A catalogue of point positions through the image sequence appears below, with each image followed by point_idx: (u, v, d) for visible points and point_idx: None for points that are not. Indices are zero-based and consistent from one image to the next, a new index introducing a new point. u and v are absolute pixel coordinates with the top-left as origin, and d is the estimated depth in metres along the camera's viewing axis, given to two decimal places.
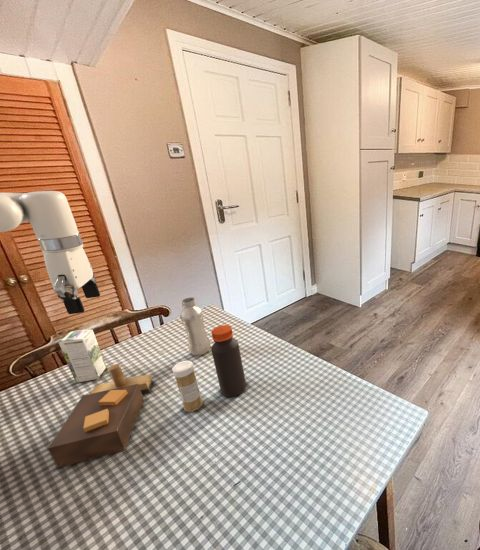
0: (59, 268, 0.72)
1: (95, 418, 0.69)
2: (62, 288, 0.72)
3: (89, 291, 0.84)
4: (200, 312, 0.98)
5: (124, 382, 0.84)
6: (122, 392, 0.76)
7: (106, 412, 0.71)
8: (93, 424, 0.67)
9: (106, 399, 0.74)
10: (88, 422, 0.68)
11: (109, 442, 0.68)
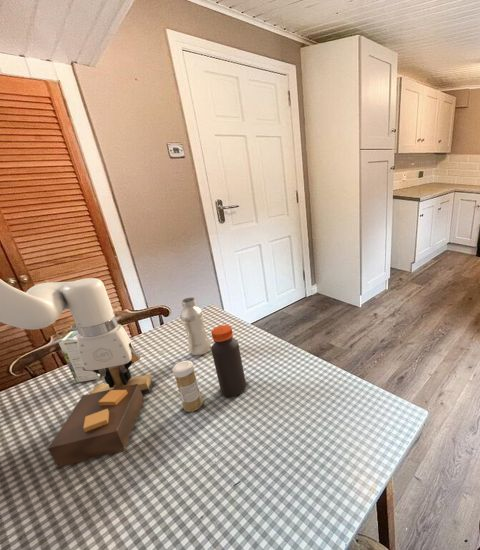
0: (127, 338, 0.81)
1: (95, 418, 0.69)
2: None
3: None
4: (200, 312, 0.98)
5: None
6: (122, 392, 0.76)
7: (106, 412, 0.71)
8: (93, 424, 0.67)
9: (106, 399, 0.74)
10: (88, 422, 0.68)
11: (109, 442, 0.68)
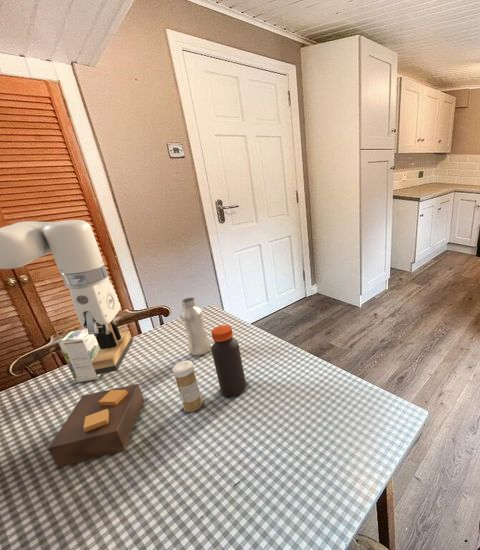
0: None
1: (95, 418, 0.69)
2: None
3: None
4: (200, 312, 0.98)
5: None
6: (122, 392, 0.76)
7: (106, 412, 0.71)
8: (93, 424, 0.67)
9: (106, 399, 0.74)
10: (88, 422, 0.68)
11: (109, 442, 0.68)
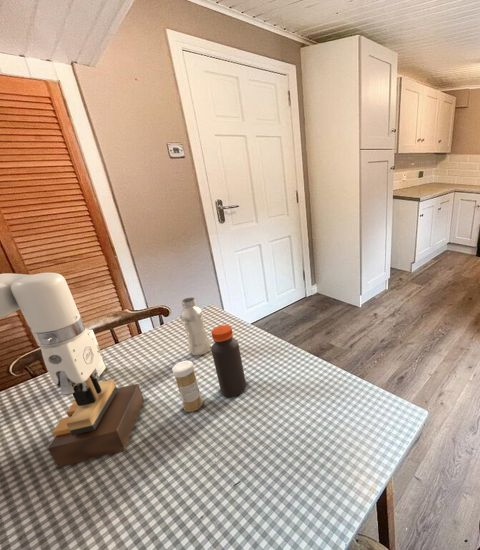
0: None
1: None
2: None
3: None
4: (200, 312, 0.98)
5: None
6: None
7: None
8: (62, 430, 0.66)
9: (75, 408, 0.72)
10: (59, 426, 0.67)
11: (109, 442, 0.68)
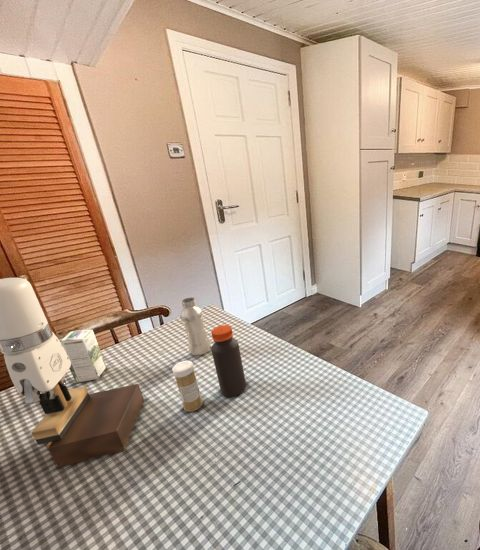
0: None
1: None
2: None
3: None
4: (200, 312, 0.98)
5: None
6: None
7: None
8: None
9: None
10: None
11: (109, 442, 0.68)
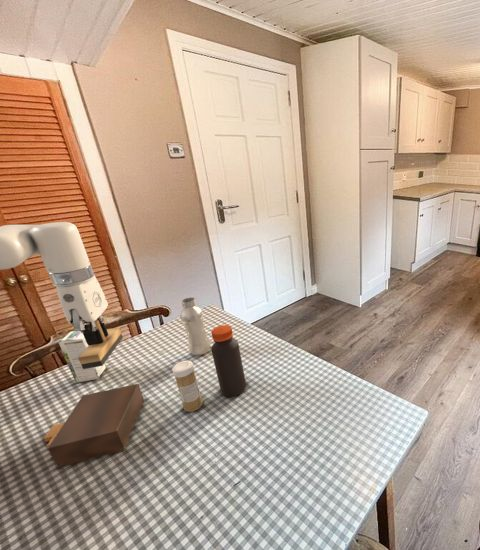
0: None
1: None
2: None
3: None
4: (200, 312, 0.98)
5: None
6: None
7: (53, 436, 0.68)
8: None
9: None
10: None
11: (109, 442, 0.68)
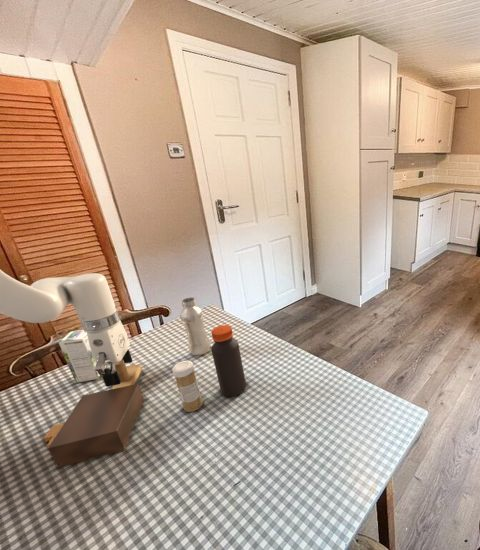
0: None
1: None
2: None
3: None
4: (200, 312, 0.98)
5: None
6: None
7: (53, 436, 0.68)
8: None
9: None
10: None
11: (109, 442, 0.68)
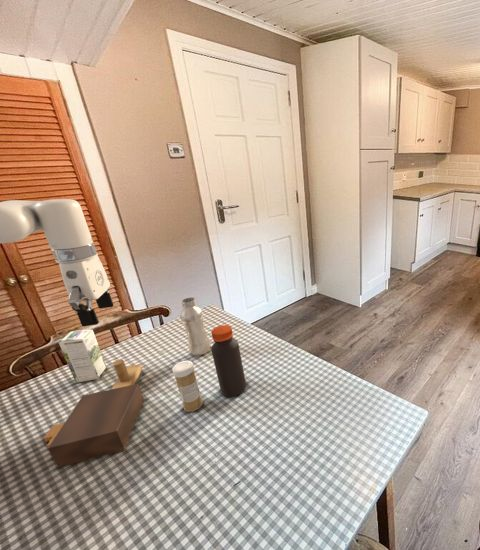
0: None
1: None
2: None
3: None
4: (200, 312, 0.98)
5: None
6: None
7: (53, 436, 0.68)
8: None
9: None
10: None
11: (109, 442, 0.68)
